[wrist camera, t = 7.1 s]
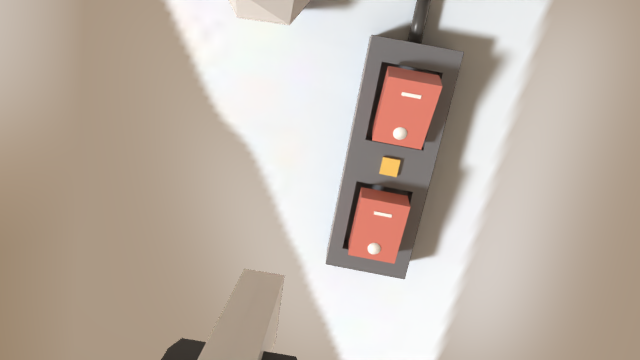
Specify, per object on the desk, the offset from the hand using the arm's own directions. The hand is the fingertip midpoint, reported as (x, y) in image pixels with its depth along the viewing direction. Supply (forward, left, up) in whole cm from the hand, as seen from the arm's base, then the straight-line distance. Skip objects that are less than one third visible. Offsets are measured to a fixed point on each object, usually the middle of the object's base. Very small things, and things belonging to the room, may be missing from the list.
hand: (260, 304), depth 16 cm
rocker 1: (-9, +3, -25) cm, 26 cm away
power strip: (-6, +5, -28) cm, 29 cm away
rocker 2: (0, +8, -25) cm, 26 cm away
